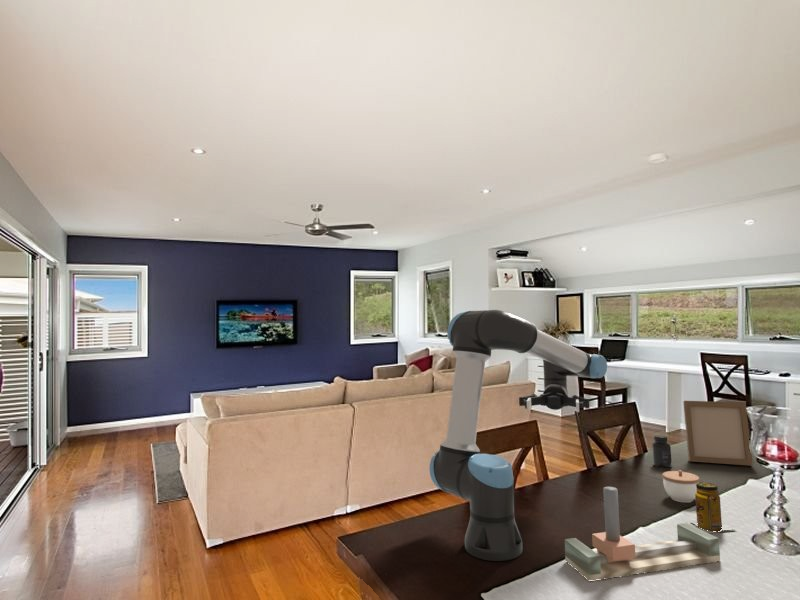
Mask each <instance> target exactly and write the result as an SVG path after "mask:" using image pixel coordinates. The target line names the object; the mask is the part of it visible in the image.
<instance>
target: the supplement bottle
mask: <svg viewBox="0 0 800 600" xmlns="http://www.w3.org/2000/svg"><path fill="white" fill-rule="evenodd" d="M653 438H654V439H653V443H652V444H651V447H652V449H651V450H652V462H653V463H652V464H653V466H654V465H655V466H654V467H656V466H658V467H657V468H660V467H663V468H662V469H670V468H671V467H672V466H673V462H672V446H671V444H670V443H669V442H668V436H666V435H662V434H660V435H657V434H656V435H654V436H653Z"/></svg>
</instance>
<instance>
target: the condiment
mask: <svg viewBox="0 0 800 600" xmlns="http://www.w3.org/2000/svg"><path fill="white" fill-rule="evenodd" d="M696 487H697V489H696V491H697V492H696V493H695V509H696V510H695V511H696V523H698V524H697V525H698V527H700V528H702V529H704V530H703V531H705V532H707V533H709V534H713V533H714V532H713V531H716V532H715V533H716V534H717V532H718V531H720V530H721V529H722V528H721V527H722V524H723V523H722V522H723V521H722V509H721V507H722V506H721V497H720V495H719V487H718V486H717V484H714V483H711V482H710V483H709V482H700V481H699V483H697V484H696ZM698 527H697V528H698ZM700 528H699V529H700ZM702 529H701V530H702ZM707 530H708V531H707ZM733 531H737V530H736V529H734V530H733V528H732V530H727V531H726V532H733ZM724 532H725V531H723V530H722V532H721V533H724ZM715 533H714V534H715ZM718 533H719V532H718Z"/></svg>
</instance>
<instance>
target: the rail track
mask: <svg viewBox="0 0 800 600" xmlns="http://www.w3.org/2000/svg"><path fill="white" fill-rule="evenodd" d="M676 528H677V529H676V530H677V533H676V534H677V539H674V540H667V541H666V540H665V541H660V542H653V543H645V544H637V545H635V556H636V557H635V558H631V559H629V560H622V561H615V562H607V559H606V555H605V554H603V553H597V550H596V551H594V550H593V549H592V548H590V547H589V546H587V545H586V544H584V543H583V542H582V541H580V540H579V539H578V538H577V537H571V538H566V539H564V555H565V556H564V557H565V558H564V559H565V562H566V561H567V562H568V563H569V564H571V565H572V566H573V567H574V568H576V569H577V570H578V571H579V572H580V573H581V574H582V575H583V576H585V577H586V578H587V579H588V580H596V579H604V578H612V579H614V578H613V577H619V578H621V577H620V576H625V577H628V576H627V575H631V576H633V575H632V574H637V573H644V572H646V573H644V574H648V573H647V572H650V573H655V572H654V571H656V572H660V570H663V571H668V570H667V569H669V570H674V569H673V568H675V569H679V568H678V567H682V566H688V567H690V566H689V565H694V566H696V565H695V564H700V565H703V564H702V563H707V564H711V563H710V562H713V563H718V562H717V561H719V562H721V552H720V538H719V537H717V536H715V535H712V533H707V532H706V531H704V530H702V529H700V528H698V527H696V526H695V525H693V524H691V523H688V522H684V523H683V522H682V523H677V524H676ZM569 564H568V565H569ZM682 568H683V567H682ZM581 574H580V575H581ZM582 575H581V576H582ZM583 576H582V577H583ZM588 580H587V581H588Z"/></svg>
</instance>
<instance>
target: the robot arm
mask: <svg viewBox="0 0 800 600" xmlns="http://www.w3.org/2000/svg"><path fill="white" fill-rule="evenodd" d="M446 331H447V334H446V335H447V339H448V340H449V341H448V342H449V343H450V345H451V346H452V353H453V355H454V356H455V358H456V361H455V368H454V376H453V384H452V391H451V400H450V407H449V408H450V409H449V415H448V422H447V431H446V438H445V439H444V440H443V441H442V442H440V444H439V445H440V446H439V449H438V450H437V451H436V452H435V453H434V455H432V457H431V459H430V463H429V468H428V469H429V477H430V478H431V481H432V483H433V484H434V486H435V487H436V488H437V489H439V490H441V491H442V492H444V493H446V494H448V495H452V496H454V497H458V498H460V499H463V500H465V501H468V502H469V510H470V511H469V512H470V513H469V514H470V517H469V521H468V526H467V529H466V531H465V536H464V549H465V551H466V552H467V553H468V554H469V555H470V556H473V557H474V558H477V559H481V560H485V561H493V562H503V561H510V560H513V559H516V558H518V557H520V555H522V553H523V547H524V546H523V540H522V537H521V533H520V530H519V529H518V524H517V523H516V519H515V484H514V482H515V478H514V473H513V468H512V467H513V466H512V464H511V463H510V462H509V460H508V459H506V458H504V457H502V456H499V455H496V454H489V453H481V449H480V448H479V447H478V445H477V444H476V443H477V442H476V441H477V431H478V425H479V423H478V422H479V418H480V417H479V415H480V406H481V399H482V398H481V397H482V391H483V389H482V388H483V381H484V374H485V373H484V372H485V363H486V362H487V361H488V360H490V359H491V358H492V357H491V356H492V350H503V351H513V352H516V353H519V354H526V353H527V354H529V355H532V356H533V357H536V358H539V359H541V360H542V362H543V364H542V366H543V390H544V391H543V393H542V394H540V395H537V394H536V393H533V394H530V395H524V396H520V397H518V404H519V407H523V406H524V409H525V410H526V411H530V410H531V409H532V406H534V407H535V406H543V407H544V406H546V407H547V408H548V409H550V410H554V411H557V410H561V409H562V408H564V407H573V408H575V410H576V413H580V409H584V408H585V409H590V399H588V398H585V397H583V396H578V395H576V394H574V395H571V397H569V396H568V385H567V383H568V382H567V379H568V378H567V377H578V378H590V379H601V378H603V377H604V376H605V375H606V374H607V370H608V362H607V359H606V358H605V357H604V356H603V355H601V354H596V353H593V354H592V353H587V352H585V351H583V350H581V349H579V348H577V347H574V346H573V345H570V344H568V343H566V342H564V341H562V340H560V339H558V338H556V337H554V336H552V335H550V334H548V333H546V332H544V331H541V330H539V329H538V328H537V326H536V324H534V323H533V322H531V321H529V320H527V319H525V318H523V317H520V316H518V315H516V314H513V313H510V312H508V311H505V310H501V309H488V310H484V309H483V310H469V311H464V312H463V311H462V312H460V313H457V314H455V316H454V317H452V318H451V320H450V321H449V323H448V327H447V330H446Z"/></svg>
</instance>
